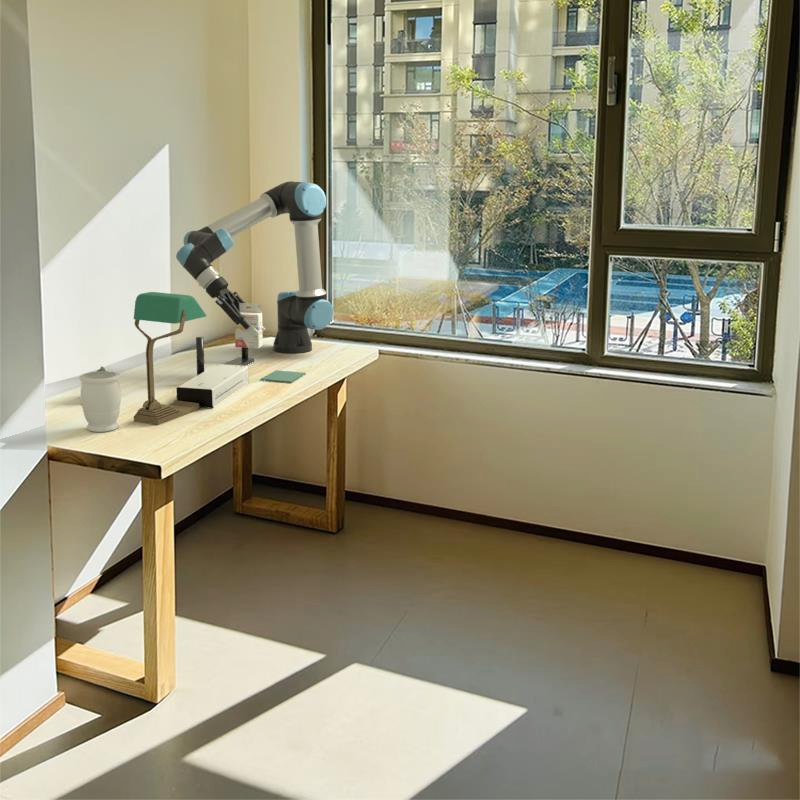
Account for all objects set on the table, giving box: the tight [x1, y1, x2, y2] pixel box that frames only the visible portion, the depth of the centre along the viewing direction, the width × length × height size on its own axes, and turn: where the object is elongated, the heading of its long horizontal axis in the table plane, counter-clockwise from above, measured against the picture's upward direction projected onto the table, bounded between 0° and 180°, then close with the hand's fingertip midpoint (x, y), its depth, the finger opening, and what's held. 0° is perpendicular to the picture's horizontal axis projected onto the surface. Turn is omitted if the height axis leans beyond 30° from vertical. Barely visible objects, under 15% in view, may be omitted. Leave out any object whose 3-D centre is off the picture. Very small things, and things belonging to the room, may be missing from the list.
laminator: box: [175, 363, 250, 408], centre depth 293 cm, size 34×12×6 cm, turn 171°
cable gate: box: [195, 336, 255, 376], centre depth 321 cm, size 38×6×16 cm, turn 166°
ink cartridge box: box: [234, 302, 264, 349], centre depth 316 cm, size 9×5×15 cm, turn 81°
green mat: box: [260, 369, 306, 384], centre depth 318 cm, size 14×11×1 cm
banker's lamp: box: [133, 291, 208, 426], centre depth 264 cm, size 16×21×35 cm
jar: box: [79, 370, 122, 433], centre depth 252 cm, size 11×10×15 cm
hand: (259, 333), depth 316 cm, fingers closed on ink cartridge box, 5 cm apart
